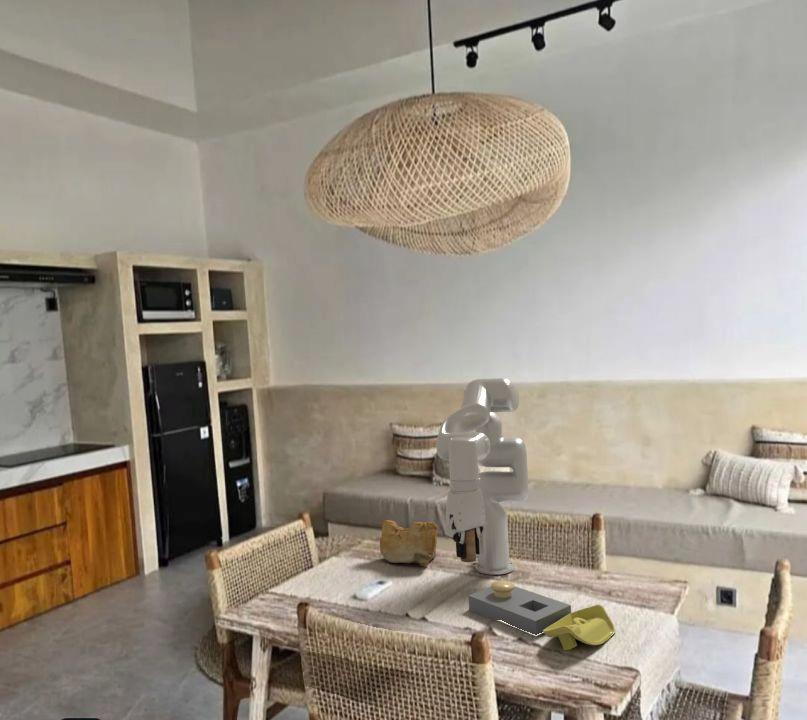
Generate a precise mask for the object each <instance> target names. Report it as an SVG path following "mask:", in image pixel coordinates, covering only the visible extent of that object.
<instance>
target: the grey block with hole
mask: <svg viewBox="0 0 807 720" xmlns="http://www.w3.org/2000/svg"><path fill="white" fill-rule="evenodd" d="M467 596H468V611H471V612H473V613H476V614H479V615H481V616H484V617H486V618H489V619H491V620H493V621H496V620H502V621H504V622H506V623H508V624H510V625H512V626H515V627H517V628H519V629H522V630H524V631H527V632H530V633H532V634H535V635H537V634H539V633H542V632H543V630H544V629H546V628H547V627H549V626H550V625H552V624H554V623H555V622H557V621H558V620H560V619H562V618H563V617H565V616H567V615H568V614H570V613H572V605H571V604H568V603H566V602H563V601H559V600H557V599H554V598H551V597H547V596H546V595H542V594H539V593H536V592H533V591H530V590H528V589H524V588H521V587H519V586H515V583H514V582H512V581H510V580H497V581H495V580H494V581H493V582H491V584H490V587H487V588H484V589H482V590H479V591H477V592H474V593H472V594H469V595H467Z"/></svg>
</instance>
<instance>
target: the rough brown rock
mask: <svg viewBox="0 0 807 720" xmlns="http://www.w3.org/2000/svg"><path fill="white" fill-rule="evenodd" d="M381 524H382V525H381V536H380V538H379V548H380V549H379V551H380V554H381V555H382V556H383V558H384V559H385V560H386V561H387V562H389V563H392V564H398V563H399V564H411V563H415V564H417V565H418V566H421V567H423V566H424V567H423V568H426V567H428V566H429V563H430V561H432V559H435V558H436V557H437V554H436V551H437V543H438V541H437V537H438V533H439V528H438V525H437V524H436V523H435V522H431V521H426V522H423V521H416V522H413V523H411V525H410V526H409V527H407V528H404V527H402V526H400V525H399V524H398V523H397V522H396V521H394V520H390V519H387V520H385V519H384V520H383V521H382V523H381Z"/></svg>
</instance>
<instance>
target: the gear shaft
mask: <svg viewBox="0 0 807 720" xmlns="http://www.w3.org/2000/svg"><path fill="white" fill-rule="evenodd" d="M459 537H460V533H459ZM464 543H466V556H467V557H466V559H463V558H460V561H461V562H462V563H473V562H476V561H477V558H476V547H475V529H471V530H467V531H465V536H464Z"/></svg>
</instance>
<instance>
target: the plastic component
mask: <svg viewBox="0 0 807 720" xmlns="http://www.w3.org/2000/svg"><path fill="white" fill-rule="evenodd" d="M615 628H616V627H615V626H614V623H613V622H612V620H611V618H610V616H609V615H608V613H607V611H606V609H605V607H604V606H603V605H601V604H594V605H591V606H588V607H585V608H582V609H578V610H575V611H572V612H571V613H570V614H568V615H567V616H565V617H563V618H562V619H560V620H558V621H557V622H555V623H554V624H552V625H550V626H549V627H547V628H546V629H544V630H543V632H544V633H543V634H544V635H545V636H546V637H548V638H555V637H557V638H558V639H559V642H560V645H561V647H562V649H563V650H564V649H565V650H564V651H568V650H571V649H574V648H575V647H577V646H578V643H577V641H580V642H582V643H584V644H586V645H588V646H589V645H590V646H599V645H601V644H604V643H605V642H606V641H608V640H609V639H610V638H612V637H611V635H612V634H613V632H614V631H615V632H616V629H615ZM610 632H612V633H610ZM576 640H577V641H576Z"/></svg>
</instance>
